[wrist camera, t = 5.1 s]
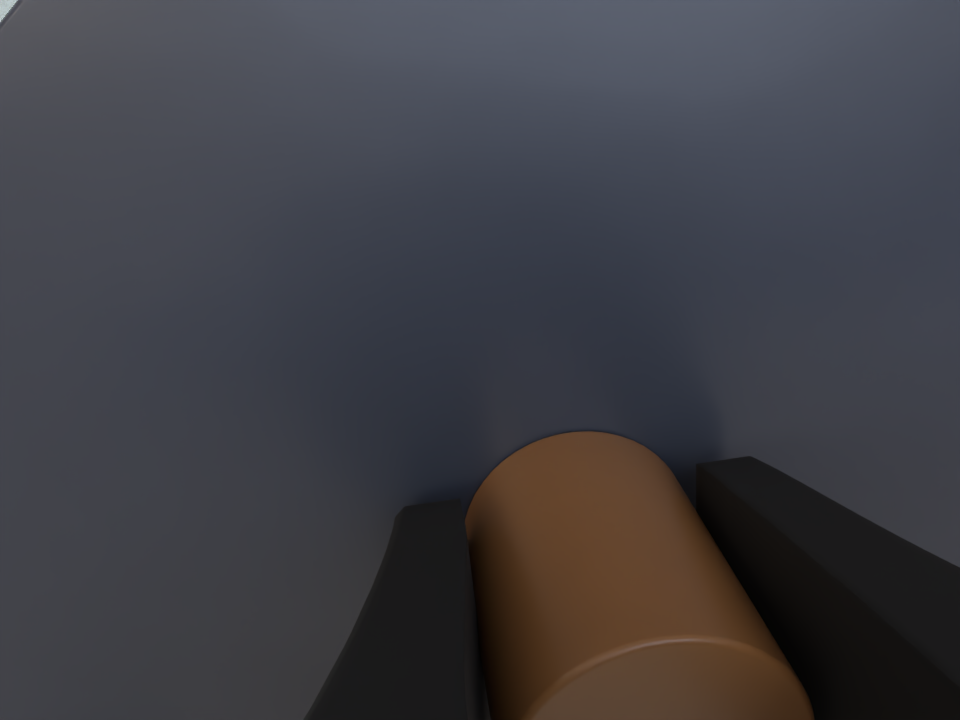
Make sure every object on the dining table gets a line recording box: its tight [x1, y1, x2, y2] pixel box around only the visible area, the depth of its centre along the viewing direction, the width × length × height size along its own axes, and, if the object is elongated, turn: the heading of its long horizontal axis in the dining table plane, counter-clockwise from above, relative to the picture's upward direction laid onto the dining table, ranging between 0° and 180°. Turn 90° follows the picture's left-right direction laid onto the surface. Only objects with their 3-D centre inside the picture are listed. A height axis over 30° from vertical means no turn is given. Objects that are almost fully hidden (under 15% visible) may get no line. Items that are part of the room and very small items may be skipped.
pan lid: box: [0, 0, 960, 720], centre depth 9 cm, size 15×15×4 cm
